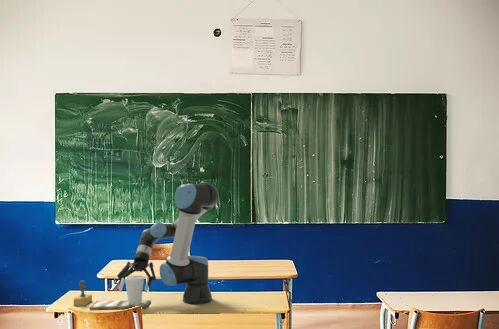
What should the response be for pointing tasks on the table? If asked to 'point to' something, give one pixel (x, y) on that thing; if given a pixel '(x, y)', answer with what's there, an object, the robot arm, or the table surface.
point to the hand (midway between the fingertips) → (132, 290)
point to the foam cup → (134, 289)
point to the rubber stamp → (82, 296)
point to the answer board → (117, 305)
